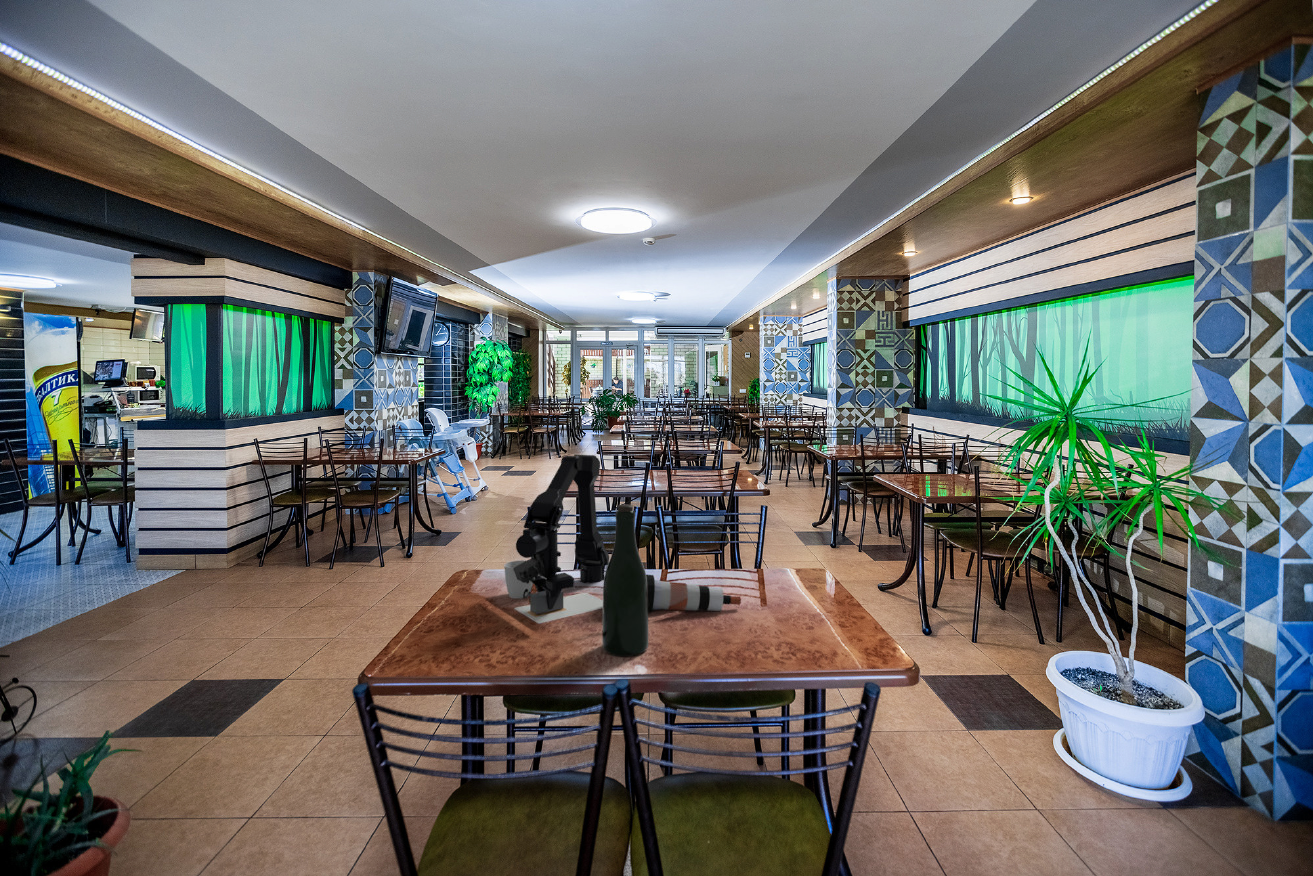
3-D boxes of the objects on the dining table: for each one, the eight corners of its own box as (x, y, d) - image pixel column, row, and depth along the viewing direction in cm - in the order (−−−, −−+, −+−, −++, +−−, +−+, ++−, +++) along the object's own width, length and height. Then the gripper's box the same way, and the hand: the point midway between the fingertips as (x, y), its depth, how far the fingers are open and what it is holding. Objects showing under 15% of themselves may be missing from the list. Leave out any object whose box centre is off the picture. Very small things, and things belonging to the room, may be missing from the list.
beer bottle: (623, 636, 156) (623, 499, 153) (657, 647, 149) (658, 504, 147) (592, 649, 148) (592, 505, 145) (627, 662, 141) (627, 511, 139)
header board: (585, 596, 185) (585, 583, 185) (613, 609, 174) (613, 596, 174) (513, 612, 172) (513, 598, 172) (538, 628, 161) (538, 613, 160)
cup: (528, 604, 178) (528, 568, 177) (500, 603, 179) (499, 567, 178) (538, 595, 186) (538, 561, 185) (511, 594, 187) (510, 559, 186)
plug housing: (557, 604, 174) (556, 588, 173) (563, 608, 171) (563, 591, 170) (530, 610, 169) (530, 593, 168) (536, 614, 166) (536, 597, 166)
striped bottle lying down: (738, 628, 173) (747, 601, 168) (611, 620, 169) (615, 591, 164) (732, 600, 182) (740, 573, 177) (611, 591, 178) (615, 564, 172)
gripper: (501, 545, 171) (502, 604, 172) (534, 561, 156) (535, 624, 157) (540, 539, 178) (540, 595, 179) (575, 553, 163) (575, 614, 164)
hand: (547, 607), depth 170 cm, fingers closed on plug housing, 3 cm apart
